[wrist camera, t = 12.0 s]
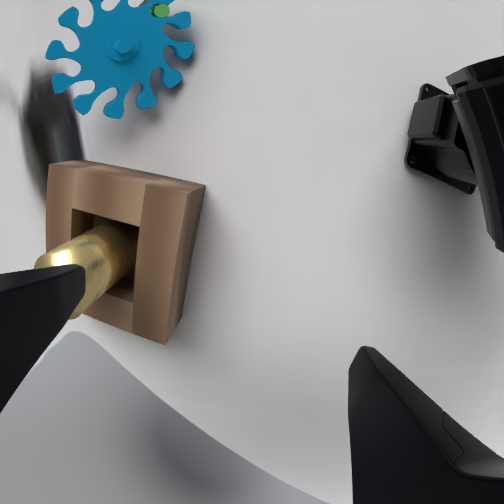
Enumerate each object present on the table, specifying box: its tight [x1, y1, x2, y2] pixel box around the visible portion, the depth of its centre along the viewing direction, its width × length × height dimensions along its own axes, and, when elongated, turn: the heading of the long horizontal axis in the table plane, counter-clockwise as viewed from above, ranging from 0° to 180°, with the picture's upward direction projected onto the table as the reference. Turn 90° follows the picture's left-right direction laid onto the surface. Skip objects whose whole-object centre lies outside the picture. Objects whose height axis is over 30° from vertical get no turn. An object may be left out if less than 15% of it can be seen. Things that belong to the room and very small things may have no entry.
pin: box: [34, 219, 139, 320], centre depth 18 cm, size 4×4×8 cm
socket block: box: [46, 160, 206, 345], centre depth 20 cm, size 11×11×4 cm
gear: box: [45, 0, 195, 119], centre depth 15 cm, size 11×6×10 cm
